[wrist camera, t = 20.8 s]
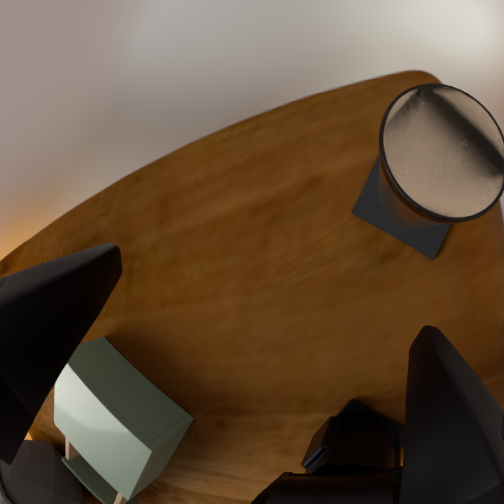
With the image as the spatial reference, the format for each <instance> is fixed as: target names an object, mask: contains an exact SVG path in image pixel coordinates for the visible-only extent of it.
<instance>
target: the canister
mask: <svg viewBox="0 0 504 504" xmlns="http://www.w3.org/2000/svg"><path fill="white" fill-rule="evenodd" d="M379 157H380V173H379V185H378V193H379V199H380V202H381V205H382V207H383V209H384V211H385V212H386V214H387V215H388V216H389V217H390V218H391V219H392V220H393V221H394V222H395V223H397V224H398V225H400V226H402V227H405V228H409V229H423V228H428V227H432V226H436V225H440V224H444V223H446V224H451V223H459V222H464V221H469V220H473V219H475V218H478V217H480V216H482V215H483V214H485V213H487V212H488V211H489V210H490V209H491V208H492V207H493V206H494V205H495V204H496V203H497V202H498V200H499V199H500V197H501V195H502V193H503V191H504V137H503V134H502V132H501V130H500V128H499V126H498V124H497V122H496V121H495V119H494V118H493V116H492V115H491V114H490V112H489V111H488V110H487V109H486V108H485V107H484V106H483V105H482V104H481V103H480V102H479V101H477V100H476V99H475V98H474V97H472V96H471V95H469V94H468V93H466V92H464V91H462V90H460V89H457V88H455V87H452V86H448V85H444V84H437V83H428V84H421V85H417V86H414V87H411V88H409V89H407V90H405V91H404V92H402V93H401V94H399V95H398V96H397V97H396V98H395V99H394V100H393V101H392V102H391V104H390V105H389V106H388V108H387V110H386V111H385V114H384V116H383V119H382V122H381V126H380V133H379Z"/></svg>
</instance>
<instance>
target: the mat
mask: <svg viewBox="0 0 504 504" xmlns="http://www.w3.org/2000/svg"><path fill="white" fill-rule="evenodd" d="M379 173H380V157H379V156H378V158H377V160H376V162H375V164H374V167H373V169H372V171H371V173H370V175H369V177H368V179H367V182H366V184H365V186H364V188H363V190H362V192H361V194H360V196H359V198H358V200H357V202H356V204H355V206H354V208H353V210H352V213H353V214H355V215H356V216H358V217H360V218H362V219H364V220H366V221H367V222H369V223H371V224H373V225H375V226H376V227H378V228H380V229H382V230H384V231H385V232H387V233H389V234H391V235H392V236H394V237H396V238H398V239H399V240H401V241H403V242H404V243H406V244H408V245H409V246H411V247H413V248H414V249H416V250H418V251H419V252H421V253H423V254H424V255H426V256H428V257H429V258H431V259H433V260H434V258H435V256H436V254H437V252H438V250H439V248H440V246H441V244H442V242H443V240H444V238H445V236H446V233H447V231H448V229H449V227H450V225H451V224H446V223H444V224H440V225H436V226H432V227H428V228H423V229H409V228H405V227H402V226H400V225H398V224H397V223H395V222H394V221H393V220H392V219H391V218H390V217H389V216H388V215H387V214H386V212H385V211H384V209H383V207H382V205H381V202H380V199H379V193H378V185H379Z"/></svg>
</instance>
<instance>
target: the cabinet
mask: <svg viewBox="0 0 504 504" xmlns="http://www.w3.org/2000/svg"><path fill="white" fill-rule="evenodd" d="M193 419H194V417H192V416H191V415H190V414H188V413H187V412H186V411H185V410H183V409H182V408H181V407H180V406H178V405H177V404H176V403H175V402H173V401H172V400H171V399H170V398H169V397H167V396H166V395H165V394H164V393H163V392H161V391H160V390H159V389H158V388H157V387H156V386H155V385H153V384H152V383H151V382H150V381H149V380H148V379H147V378H146V377H145V376H143V375H142V374H141V373H140V372H139V371H138V370H137V369H136V368H135V367H134V366H133V365H132V364H131V363H130V362H128V361H127V360H126V359H125V358H124V357H123V356H122V355H121V354H120V353H119V352H118V351H117V350H116V349H115V348H114V347H113V346H112V345H111V344H110V343H109V342H108V341H107V340H106V338H105V337H101V338H98V339H94V340H91V341H88V342H85V343H81V344H79V345H78V347H77V348H76V350H75V352H74V353H73V355H72V356H71V358H70V359H69V361H68V363H67V364H66V366H65V367H64V369H63V371H62V372H61V374H60V376H59V377H58V379H57V381H56V382H55V398H54V423H55V424H56V426H57V427H58V428H59V430H60V431H61V432H62V433H63V435H64V436H65V437H66V438H67V439H68V441H69V442H70V443H71V444H72V445H73V446H74V448H75V449H76V450H77V451H78V452H79V453H80V454H81V455H82V457H83V458H84V459H85V460H86V461H87V462H88V463H89V464H90V465H91V466H92V467H93V468H94V469H95V470H96V471H97V472H98V473H99V474H100V475H101V476H102V477H103V478H104V479H105V480H106V481H107V482H108V483H109V484H110V485H111V486H112V487H113V488H114V489H115V490H116V491H118V492H119V493H120V494H121V495H122V496H123V497H124V498H125V499H127V500H128V501H129V500H130V499H131V498H132V497H134V496H135V495H137V494H138V493H139V492H140V491H141V490H143V489H144V488H145V487H146V486H148V485H149V484H150V483H151V482H152V481H154V480H155V479H156V478H157V477H158V476H160V475H161V473H162V471H163V470H164V468H165V467H166V465H167V463H168V462H169V460H170V458H171V457H172V455H173V453H174V452H175V450H176V448H177V446H178V445H179V443H180V441H181V440H182V438H183V436H184V435H185V433H186V431H187V429H188V428H189V426H190V424H191V423H192V421H193Z"/></svg>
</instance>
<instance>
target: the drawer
mask: <svg viewBox="0 0 504 504" xmlns="http://www.w3.org/2000/svg"><path fill="white" fill-rule="evenodd" d="M62 461H63V463H64V464H65V465H66V466H67V467H68V468H69V469H70V471H71V472H72V473H73V474H74V475H75V476H76V477H77V478H78V479H79V480H80V482H81V483H82V484H83V485H84V486H85V487H86V488H87V489H88V490H89V491H90V492H91V493H92V494H93V495H94V496H95V497H96V498H97V499H98V500H99V501H100V502H101V503H103V504H136V503H137V502H138V499H137V498H135V497H132V498H131V499H130V500H129V501H128V500H127V499H125V498H124V497H123V496H122V495H121V494H120V493H119V492H118V491H116V490H115V489H114V488H113V487H112V486H111V485H110V484H109V483H108V482H107V481H106V480H105V479H104V478H103V477H102V476H101V475H100V474H99V473H98V472H97V471H96V470H95V469H94V468H93V467H92V466H91V465H90V464H89V463H88V462H87V461H86V460H85V459H84V458H83V457H82V455H81V454H80V453H79V452H78V451H77V450H76V449H75V448H74V446H73V445H72V444H71V443H70V442H69V441H68V439H67V438H66V456H64V457H62Z"/></svg>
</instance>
